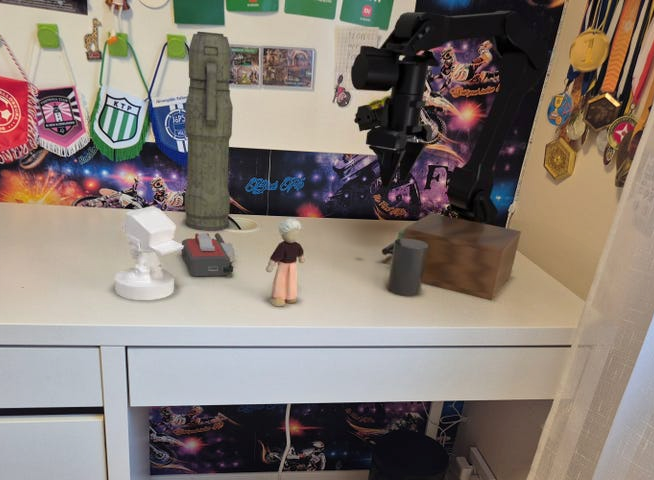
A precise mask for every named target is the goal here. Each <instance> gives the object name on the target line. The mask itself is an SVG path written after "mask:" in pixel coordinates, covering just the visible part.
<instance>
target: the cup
mask: <svg viewBox="0 0 654 480" xmlns="http://www.w3.org/2000/svg"><path fill="white" fill-rule="evenodd" d="M394 242H395V243H394ZM394 242H393V243H394V249H393V255H392V256H391V263H390V270H389V276H388V281H387V290H388V291H389V292H390V293H392V294H394V295H397V296H403V297H416V296H418V295H420V294H421V289H422V284H423V283H422V280H423V274H424V268H425V263H426V257H427V252H428V244H427V243H425V242H423V241H419V240H415V239H398V238H397V239H395V240H394Z"/></svg>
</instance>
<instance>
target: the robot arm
mask: <svg viewBox="0 0 654 480" xmlns="http://www.w3.org/2000/svg"><path fill="white" fill-rule="evenodd" d="M481 38H482V39H484V38H493V45H494V50H495V52H496V53H497V55H498V56H499V58H500V62H499V66H498V89H497V92H496V94H495V96H494V99H493V101H492V103H491V106H490V109H489V111H488V113H487V115H486V117H485V121H484V123H483V125H482V128H481V131H480V132H479V135H478V138H477V140H476V142H475V145H474V146H473V147H474V148H473V150H472V152H471V153H470V154H471V155H470V157H469V159H468V160H467V162H466V163H465V164H463V166H462V167H460V166H458V165H456V166H454V168H453V169H452V172H451V173H452V174H451V176H450V178H449V180H448V181H447V183H446V184H445V186H447V189H446V196H447V200H448V202H449V208H450V209H449V210H450V212H452V213H456V214H457V215H456V218H458V219H463V220H468V221H473V222H478V223H483V224H486V223H489V222H494V221H495V220H496V218H497V216H498V213H499V210H498V208H497V207H496V205H495V203H494V202H493V200H492V198H491V196H492V193H493V189H494V185H495V184H494V183H495V182H494V167H495V165H496V163H497V160H498V158H499V156H500V153H501V151H502V149H503V146H504V144H505V141H506V139H507V137H508V134H509V132H510V129H511V128H512V125H513V122H514V120H515V117H516V116H517V114H518V111H519V108H520V106H521V104H522V102H523V99H524V97H525V96H526V94H527V93H528V92H529V91H531V90H532V88H534V87H535V86H536V85H537V84H538V83H539V81H540V80H541V78H542V77H543V75H544V73H545V71H546V70H547V68H548V66H549V64H550V60H551V54H550V49H549V47H548V44H547V43H545V42H544V41H542V39H541V37H540V36H539V34H537V33H536V32H535V31H534V30H533V29H532V28H531V27H530V26H528V25H527V24H526V23H525V22H524V21H523V19H522V17H521V16H520V14H519V13H518V12H516V11H515V10H496V11H494V12H488V13H474V14H464V15H463V14H462V15H451V16H450V15H445V14H440V13H433V12H419V11H418V12H416V11H415V12H414V11H407V12H404V13H402V14H400V15H399V17H398V18H397V20H396V23H395V25H394V29H393V30H392V31H391V32H390V34H389V35H388V36H387V38H386V39H385V40H384V41H383V43H382V45H381V46H380V47H379V48H378V47H375V46H371V45H361V46H360V48H359V53H358V54H357V55H356V57H355V59H354V61H353V64H352V65H351V69H350V79H351V85H352V86H353V89H354V90H357V91H369V92H371V91H372V92H385V93H386V92H389V91H390V97H386V98H385V99H384V102H383V106H381V107H376V108H372V107H371V105H370V104H364V105H360V106H359V105H358V107H357V110H356V113H355V114H354V115H355V118H354V120H353V121H354V123H355V124H357V125H358V131H359V132H363V131H367V132H366V137H365V145H368V149H369V150H371V151H372V152H373V153H374V154H375V156H376V157H377V161H378V167H379V174H380V182H381V186H382V187H383V188H388V187H389V186H390V184H391V182H392V180H393V178H394V176H395V173H396V172H397V170H398V167H399V170H398V171H399V180H401V181H406V180H407V178H408V176H409V175H410V173H412V170H413V168H414V167H415V165H416V164H417V161H418V160H419V159H420V157H421V155H422V154H423V152H424V151H425V149H426V148H427V146H429V142H432V139H433V132H434V130H433V128H432V127H431V125H430V124H427V123H420V120H421V114H422V108H425V107H426V105H427V100H424V95H425V90H426V83H427V76H428V70H429V67H433V68H438V67H439V66H440V61H438V59H437V58H436V56H435V55H434V52H433V51H432V50H434V49H437V48H440V47H443V46H445V45H446V44H448V43H450V42H453V41H462V40H463V41H464V40H471V39H472V40H473V39H481ZM421 52H422V53H421ZM419 53H420V54H419ZM401 56H402V57H403V58H402V59H400V57H401ZM422 140H423V141H422Z"/></svg>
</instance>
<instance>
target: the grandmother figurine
mask: <svg viewBox="0 0 654 480" xmlns="http://www.w3.org/2000/svg"><path fill="white" fill-rule="evenodd" d="M301 231H302V223H301V222H300V221H298V220H297V219H295V218H293V217H287V218H285V219H283V220H281V221H280V223H279V224H278V233H279V234H280V236H281V239H282V241H281V242H279V243H278V245H277V246H276V247H275V249H274V250H273V252H272V253H271V256H269V261H268V262H267V266H265V272H267V273H272V272H273V270H274V267H276V264H277V268H276V270H275V273H274V277H273V281H272V290H271V296H272V297H270V299H269V303H271V305H273V306H275V307H284V306H286V303H289V304H290V303H296V302H297V298H298V277H297V276H298V275H297V261H298V262H299V263H300V264H304V263H305V262H306V257H305V254H304V253H305V251H304V248H303V247H302V245H301V244H300V242H298V241H297V240H298V239H299V237H300V232H301Z"/></svg>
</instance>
